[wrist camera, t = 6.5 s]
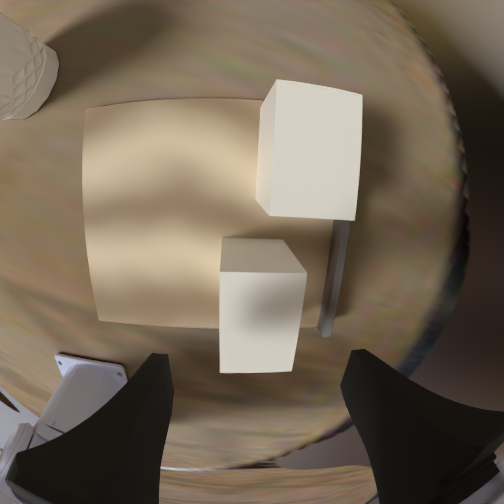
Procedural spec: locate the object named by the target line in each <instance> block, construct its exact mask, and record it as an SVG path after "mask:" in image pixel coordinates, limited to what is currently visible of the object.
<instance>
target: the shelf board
mask: <svg viewBox="0 0 504 504" xmlns="http://www.w3.org/2000/svg"><path fill="white" fill-rule="evenodd" d="M263 102H264V101H262V100H248V99H224V98H188V99H165V100H151V101H140V102H130V103H122V104H114V105H108V106H101V107H95V108H90V109H86V112H85V123H84V136H83V161H82V186H83V211H84V226H85V237H86V246H87V255H88V262H89V269H90V276H91V282H92V288H93V293H94V299H95V304H96V308H97V313H98V318H99V321H108V322H118V323H128V324H140V325H153V326H169V327H189V328H219V298H220V260H221V245H222V238H250V239H281V240H283V241H284V242H285V243H286V245H287V246H288V247H289V249H290V250H291V251H292V253H293V254H294V255H295V257H296V258H297V260H298V261H299V262H300V264H301V265H302V266H303V268H304V269H305V271H306V272H307V280H306V287H305V294H304V301H303V308H302V314H301V321H300V327H299V328H301V327H318V329H319V331H320V333H321V335H322V337H330V336H331V332H332V327H333V323H334V318H335V313H336V308H337V303H338V298H339V293H340V288H341V282H342V276H343V270H344V264H345V258H346V252H347V245H348V238H349V230H350V222H351V221H350V220H336V219H320V218H302V217H281V216H269V215H268V214H267V213H266V211H265V210H264V209H263V208H262V207H261V205H260V204H259V203H258V202H257V201H256V200H255V199H256V180H257V161H258V142H259V123H260V107H261V106H262V104H263Z"/></svg>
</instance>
